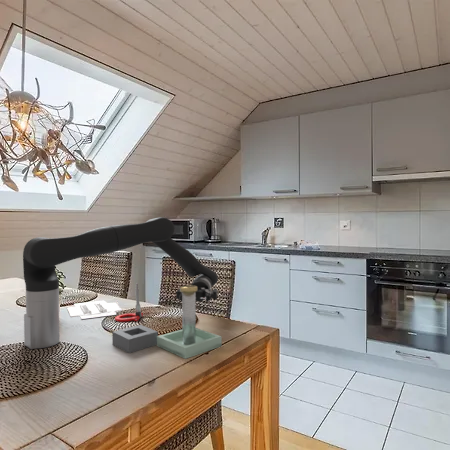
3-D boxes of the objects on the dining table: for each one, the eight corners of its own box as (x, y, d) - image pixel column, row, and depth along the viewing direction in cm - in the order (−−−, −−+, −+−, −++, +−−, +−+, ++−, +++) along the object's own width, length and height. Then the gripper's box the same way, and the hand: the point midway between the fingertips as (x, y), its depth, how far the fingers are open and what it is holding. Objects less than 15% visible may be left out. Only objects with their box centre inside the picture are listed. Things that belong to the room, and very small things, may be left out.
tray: (185, 358, 100) (185, 348, 100) (157, 346, 110) (156, 336, 110) (221, 346, 110) (221, 336, 110) (192, 335, 120) (192, 326, 120)
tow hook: (111, 323, 136) (137, 322, 135) (109, 286, 136) (135, 285, 135) (119, 316, 145) (144, 315, 144) (117, 282, 145) (142, 281, 144)
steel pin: (187, 347, 107) (187, 289, 106) (177, 342, 110) (176, 286, 110) (201, 342, 110) (200, 286, 110) (190, 338, 114) (190, 284, 114)
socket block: (129, 353, 105) (128, 339, 105) (112, 344, 112) (112, 331, 112) (157, 344, 112) (157, 331, 112) (140, 336, 119) (140, 324, 119)
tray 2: (72, 322, 137) (71, 313, 137) (65, 309, 162) (65, 300, 162) (126, 315, 147) (126, 306, 147) (112, 303, 171) (112, 295, 171)
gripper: (182, 278, 137) (173, 287, 121) (219, 279, 136) (215, 287, 120) (182, 298, 137) (173, 309, 121) (219, 298, 137) (215, 310, 120)
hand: (194, 298), depth 121 cm, fingers open, 8 cm apart
